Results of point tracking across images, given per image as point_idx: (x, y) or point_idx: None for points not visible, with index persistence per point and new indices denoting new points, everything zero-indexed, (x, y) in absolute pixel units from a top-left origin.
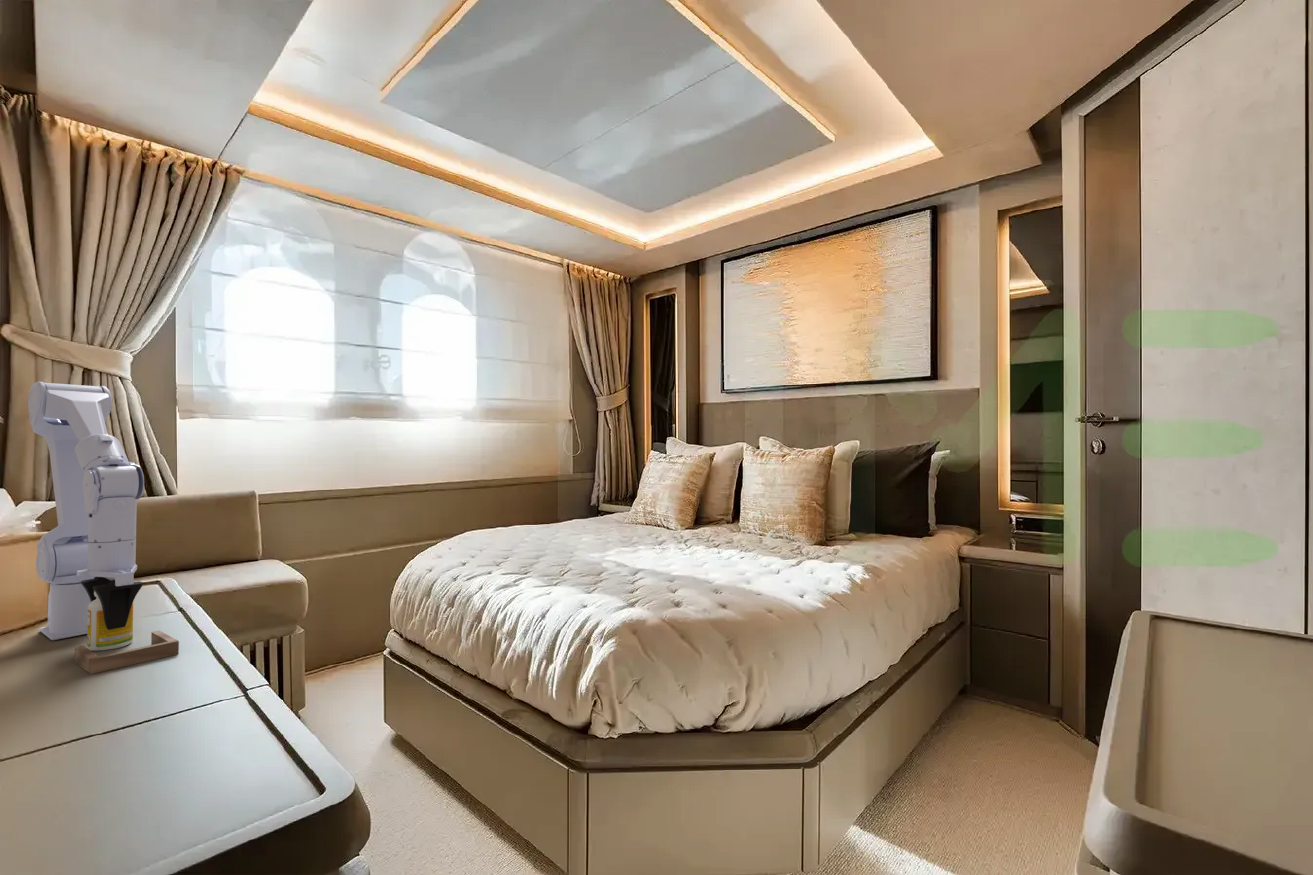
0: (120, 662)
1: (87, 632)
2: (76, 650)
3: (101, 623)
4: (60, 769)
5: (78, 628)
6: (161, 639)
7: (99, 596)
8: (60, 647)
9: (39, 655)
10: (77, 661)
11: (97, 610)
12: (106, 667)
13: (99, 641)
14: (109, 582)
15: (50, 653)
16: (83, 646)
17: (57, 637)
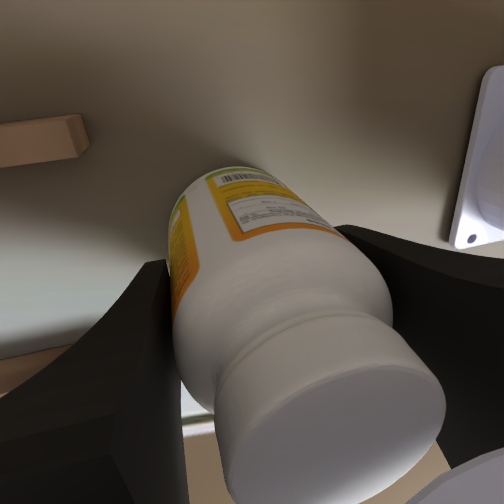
0: None
1: (249, 183)
2: (28, 124)
3: (181, 252)
4: None
5: (495, 156)
6: (17, 384)
7: (56, 386)
8: (364, 87)
9: (301, 3)
10: (16, 121)
11: (199, 274)
12: None
13: (176, 211)
14: (485, 423)
15: (298, 45)
16: (57, 154)
17: (486, 87)
